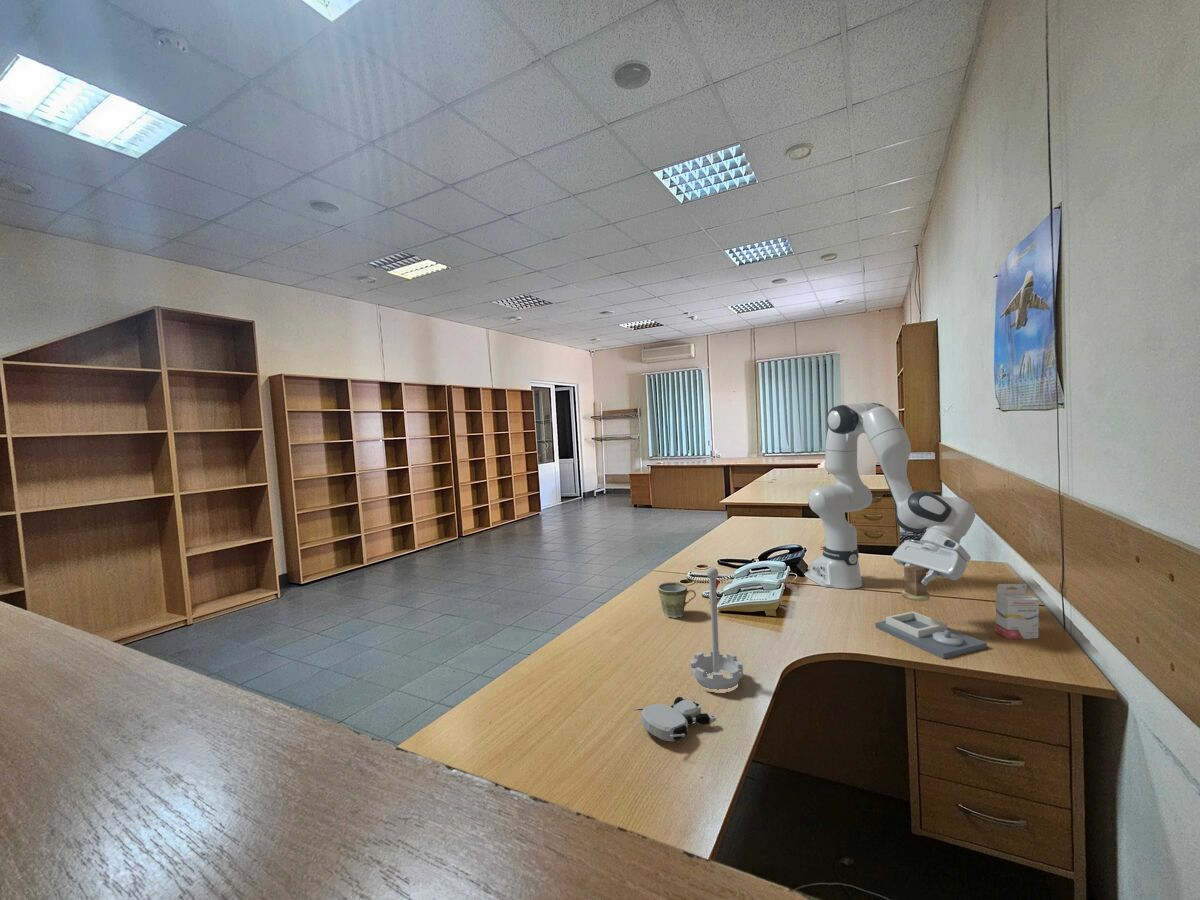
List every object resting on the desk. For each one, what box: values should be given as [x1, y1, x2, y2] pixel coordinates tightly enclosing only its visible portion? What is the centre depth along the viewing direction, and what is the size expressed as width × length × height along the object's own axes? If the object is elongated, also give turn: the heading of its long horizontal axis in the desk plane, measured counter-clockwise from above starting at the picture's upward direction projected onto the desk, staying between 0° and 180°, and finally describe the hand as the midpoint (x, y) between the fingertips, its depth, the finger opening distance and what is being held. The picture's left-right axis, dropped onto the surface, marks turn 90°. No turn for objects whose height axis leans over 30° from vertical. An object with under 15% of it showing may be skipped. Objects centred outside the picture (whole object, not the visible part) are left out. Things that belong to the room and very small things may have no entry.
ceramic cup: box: [657, 581, 697, 619], centre depth 171 cm, size 13×10×10 cm
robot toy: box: [633, 695, 717, 742], centre depth 109 cm, size 12×4×15 cm
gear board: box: [875, 610, 988, 660], centre depth 145 cm, size 22×16×4 cm
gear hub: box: [901, 565, 931, 602], centre depth 148 cm, size 7×7×9 cm
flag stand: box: [690, 566, 744, 690], centre depth 126 cm, size 13×13×30 cm
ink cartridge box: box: [995, 583, 1040, 640], centre depth 143 cm, size 9×5×15 cm, turn 84°
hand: (913, 581), depth 148 cm, fingers closed on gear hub, 4 cm apart
